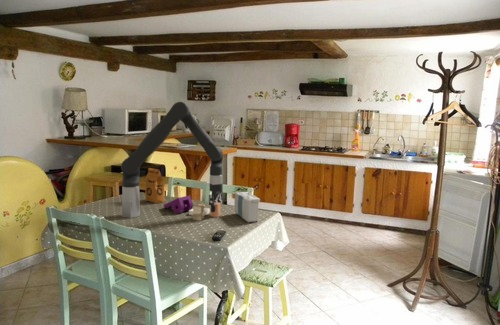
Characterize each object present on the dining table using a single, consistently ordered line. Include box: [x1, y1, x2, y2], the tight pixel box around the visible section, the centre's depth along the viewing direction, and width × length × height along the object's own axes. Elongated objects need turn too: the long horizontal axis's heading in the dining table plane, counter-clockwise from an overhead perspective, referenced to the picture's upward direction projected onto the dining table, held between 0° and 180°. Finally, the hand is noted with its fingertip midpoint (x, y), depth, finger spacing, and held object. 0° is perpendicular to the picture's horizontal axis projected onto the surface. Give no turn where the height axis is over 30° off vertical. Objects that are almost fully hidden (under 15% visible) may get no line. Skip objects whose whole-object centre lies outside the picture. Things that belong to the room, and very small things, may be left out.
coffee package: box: [144, 167, 165, 204], centre depth 256 cm, size 10×12×22 cm
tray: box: [188, 207, 211, 217], centre depth 229 cm, size 9×9×3 cm
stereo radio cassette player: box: [234, 185, 261, 223], centre depth 222 cm, size 21×8×20 cm, turn 21°
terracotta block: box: [210, 202, 222, 218], centre depth 226 cm, size 4×4×8 cm
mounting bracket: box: [163, 195, 194, 214], centre depth 236 cm, size 10×8×18 cm
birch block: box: [192, 204, 205, 221], centre depth 218 cm, size 4×4×8 cm
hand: (216, 210), depth 226 cm, fingers open, 8 cm apart
